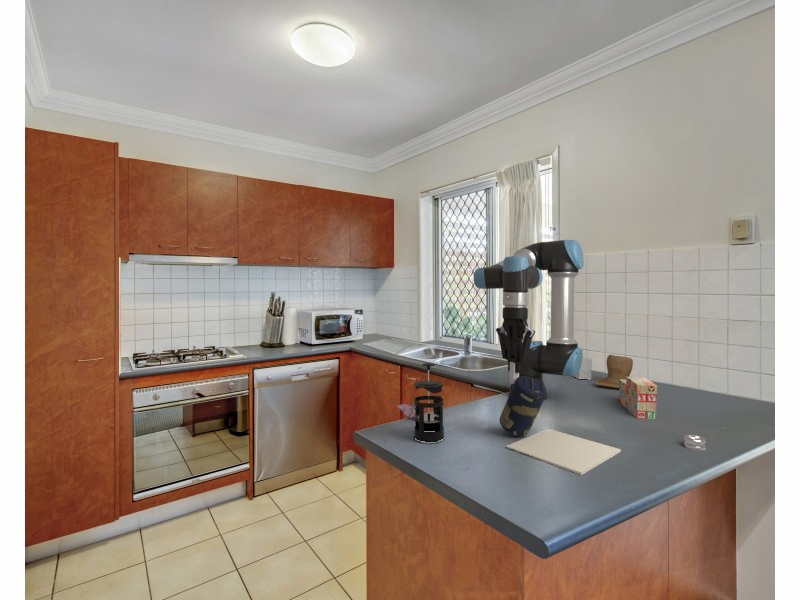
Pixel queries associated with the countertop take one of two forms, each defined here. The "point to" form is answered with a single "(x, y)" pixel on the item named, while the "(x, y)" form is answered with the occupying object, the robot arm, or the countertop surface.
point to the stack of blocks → (639, 397)
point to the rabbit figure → (407, 410)
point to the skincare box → (585, 369)
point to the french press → (428, 419)
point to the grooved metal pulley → (694, 442)
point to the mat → (565, 450)
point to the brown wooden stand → (616, 371)
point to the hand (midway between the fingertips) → (514, 382)
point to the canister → (522, 405)
